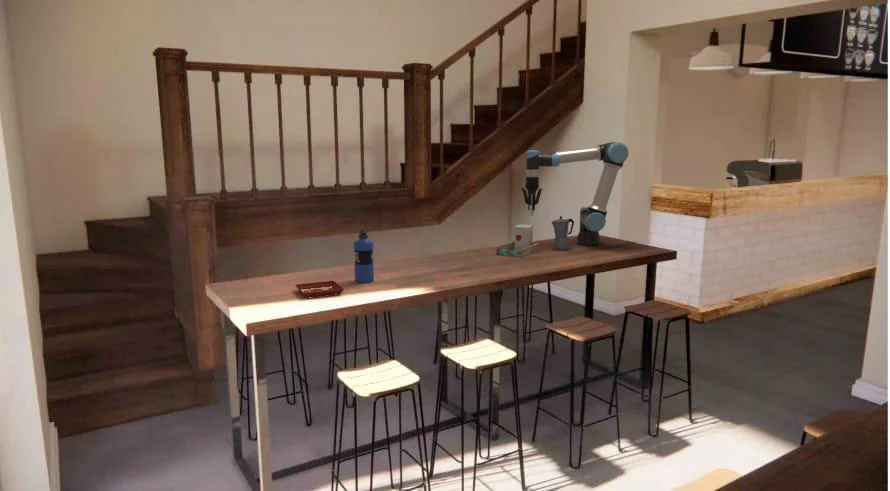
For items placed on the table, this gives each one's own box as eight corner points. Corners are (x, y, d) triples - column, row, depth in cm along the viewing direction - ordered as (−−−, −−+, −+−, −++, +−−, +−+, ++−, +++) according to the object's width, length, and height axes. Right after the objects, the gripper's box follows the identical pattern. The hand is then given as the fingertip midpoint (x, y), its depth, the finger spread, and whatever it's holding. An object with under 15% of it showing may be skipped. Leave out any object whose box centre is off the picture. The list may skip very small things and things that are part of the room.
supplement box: (513, 251, 376) (514, 226, 373) (517, 248, 384) (518, 224, 381) (528, 252, 372) (529, 227, 369) (532, 249, 380) (533, 224, 378)
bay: (539, 250, 378) (539, 243, 377) (522, 257, 358) (522, 249, 357) (514, 247, 386) (514, 240, 385) (496, 254, 366) (496, 246, 365)
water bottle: (357, 284, 299) (356, 231, 294) (352, 280, 307) (350, 228, 302) (376, 282, 302) (375, 230, 298) (370, 278, 311) (369, 227, 306)
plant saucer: (295, 291, 288) (294, 284, 288) (334, 286, 296) (333, 279, 295) (303, 300, 272) (303, 293, 272) (344, 296, 280) (344, 288, 279)
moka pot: (546, 248, 383) (547, 215, 380) (567, 246, 390) (568, 214, 386) (555, 251, 375) (556, 217, 371) (577, 249, 381) (578, 216, 377)
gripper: (519, 176, 379) (518, 215, 384) (540, 177, 373) (538, 217, 377) (524, 175, 386) (523, 214, 390) (545, 176, 379) (543, 215, 383)
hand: (531, 215), depth 384 cm, fingers closed
